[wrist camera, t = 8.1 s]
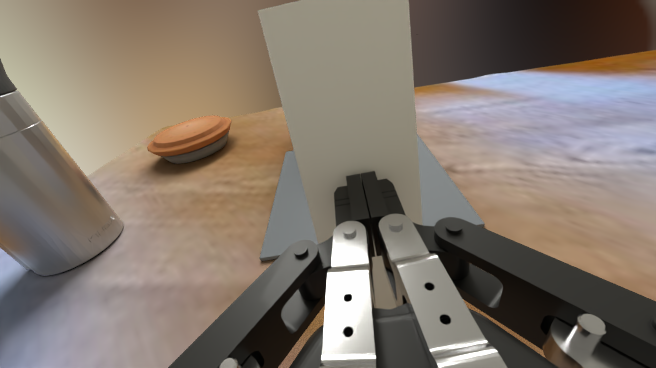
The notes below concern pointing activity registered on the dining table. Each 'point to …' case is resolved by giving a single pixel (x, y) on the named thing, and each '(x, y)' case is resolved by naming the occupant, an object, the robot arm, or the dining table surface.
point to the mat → (295, 219)
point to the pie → (191, 139)
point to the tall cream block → (347, 102)
